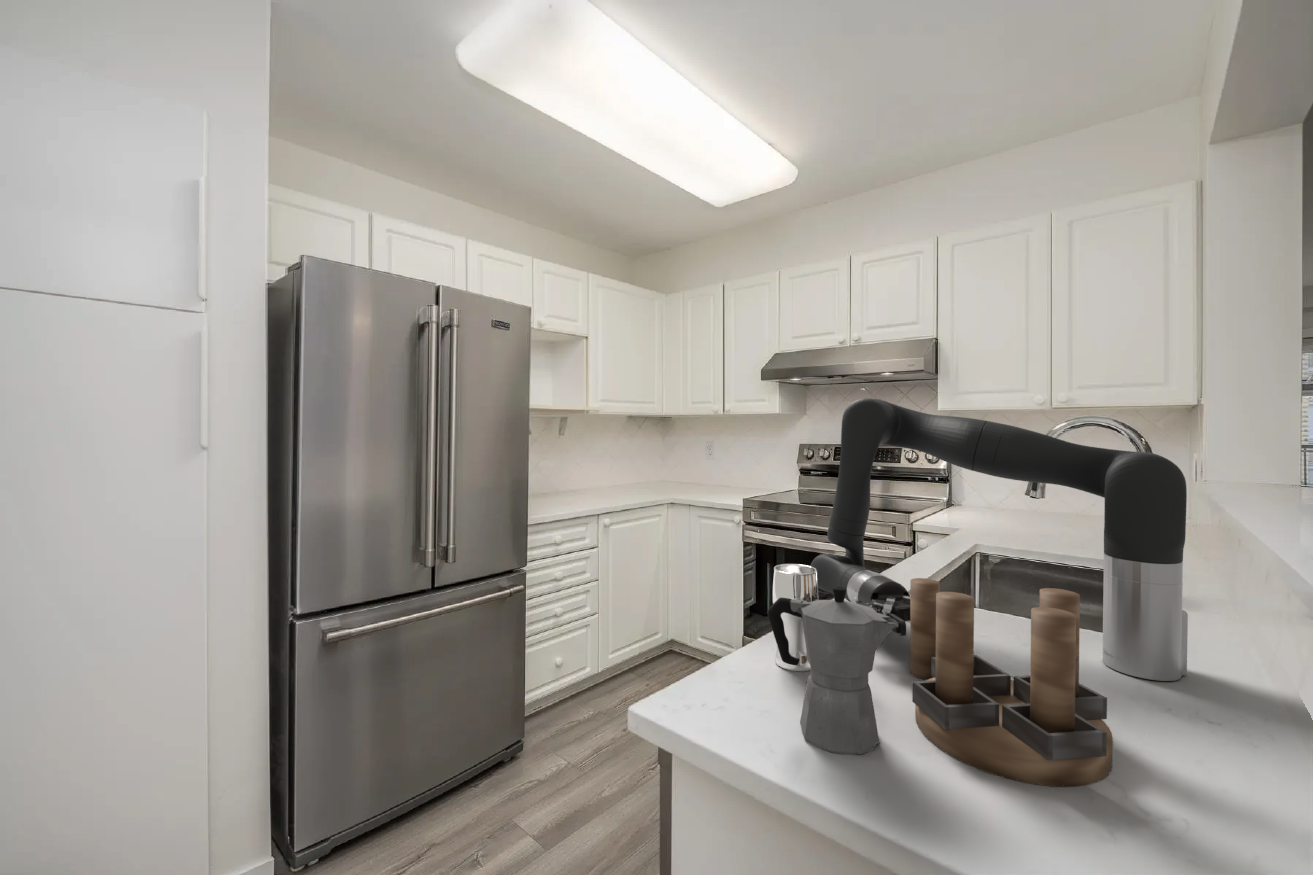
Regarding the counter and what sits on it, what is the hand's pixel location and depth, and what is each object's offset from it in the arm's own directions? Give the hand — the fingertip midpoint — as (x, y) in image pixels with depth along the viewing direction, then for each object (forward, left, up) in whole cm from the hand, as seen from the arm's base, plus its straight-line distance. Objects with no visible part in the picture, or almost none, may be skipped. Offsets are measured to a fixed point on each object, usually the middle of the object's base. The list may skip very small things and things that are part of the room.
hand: (931, 628), depth 84 cm
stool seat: (0, +15, -8) cm, 17 cm away
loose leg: (0, -2, -8) cm, 8 cm away
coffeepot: (+21, +12, -8) cm, 26 cm away
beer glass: (+18, -8, -8) cm, 21 cm away
